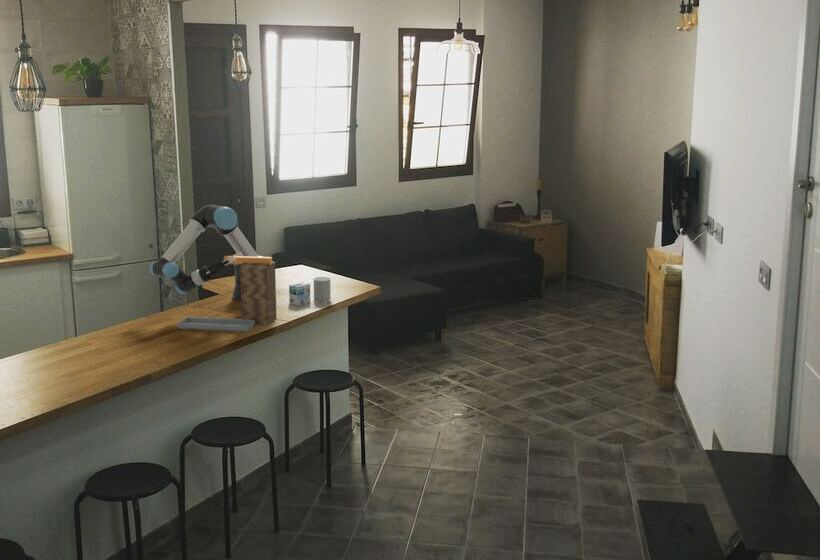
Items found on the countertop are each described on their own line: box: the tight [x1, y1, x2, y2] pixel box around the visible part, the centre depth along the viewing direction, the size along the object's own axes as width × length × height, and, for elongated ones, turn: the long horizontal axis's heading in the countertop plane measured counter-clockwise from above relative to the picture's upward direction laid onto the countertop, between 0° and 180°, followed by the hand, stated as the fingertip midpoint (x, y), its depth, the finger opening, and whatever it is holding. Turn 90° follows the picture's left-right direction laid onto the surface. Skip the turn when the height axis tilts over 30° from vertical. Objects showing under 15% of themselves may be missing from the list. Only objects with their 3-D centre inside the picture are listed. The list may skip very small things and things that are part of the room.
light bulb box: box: [288, 281, 311, 306], centre depth 485 cm, size 11×7×11 cm, turn 143°
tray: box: [176, 316, 256, 333], centre depth 437 cm, size 36×12×3 cm, turn 82°
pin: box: [223, 255, 273, 265], centre depth 443 cm, size 24×4×4 cm, turn 85°
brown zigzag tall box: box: [240, 260, 277, 326], centre depth 446 cm, size 14×14×31 cm
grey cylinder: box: [312, 276, 332, 303], centre depth 492 cm, size 10×10×12 cm
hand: (237, 255), depth 443 cm, fingers open, 10 cm apart
